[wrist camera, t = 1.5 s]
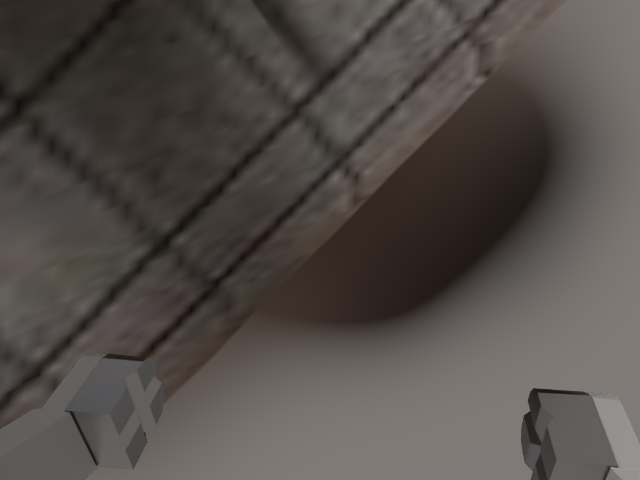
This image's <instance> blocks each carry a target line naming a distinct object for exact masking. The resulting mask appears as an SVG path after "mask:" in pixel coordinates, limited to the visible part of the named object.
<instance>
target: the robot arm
mask: <svg viewBox="0 0 640 480" xmlns="http://www.w3.org/2000/svg"><path fill="white" fill-rule="evenodd" d="M156 371H157V367H156V365H155V362H154V360H153V359H151V358H145V357H135V356H126V355H117V354H105V353H95V352H88V353H86V354H84V355H83V356H82V357H81V358H80V359H79V360H78V362H77V363H76V364H75V365H74V367H73V368H72V369H71V371H70V372H69V373H68V375H67V376H66V377H65V378H64V380H63V381H62V382H61V384H60V385H59V386H58V388H57V389H56V390H55V392H54V393H53V394H52V395H51V397H50V398H49V399H48V401H47V402H46V403H45V405H44V406H43V407H42V408H41V409H33V410H32V411H30V412H28V413H27V414H25V415H23V416H22V417H20V418H18V419H17V420H15V421H13V422H12V423H10V424H8V425H7V426H5V427H3V428H2V429H0V480H85V479H86V478H87V477H88V476H89V475H90V474H92V473H93V472H94V471H95V470H96V469H97V466H100V467H112V468H123V469H134V467H135V465H136V463H137V461H138V459H139V457H140V456H141V453H142V452H143V450H144V448H145V446H146V444H147V439H146V434H145V433H146V432H147V431H148V430H150V429H151V428H152V427H154V426H155V425H156V424H157V422H158V420H159V418H160V416H161V414H162V409H163V405H164V401H165V400H164V389H163V386H162V383H161V382H160V381H159V380H158V379H156V378H155V377H154V374H155V373H156ZM528 403H529V407H530V412H528V413H527V414H525V415H524V418H523V422H522V429H521V443H522V451H523V456H524V461H525V464H527V466H528V467H529V468H530V469H531V470H532V471H533V474H532V477H531V480H640V442H639V440H638V438H637V436H636V434H635V431H634V429H633V427H632V425H631V423H630V420H629V418H628V416H627V414H626V412H625V410H624V407H623V405H622V403H621V401H620V399H619V398H618V397H617V396H616V395H615V394H602V393H589V392H587V393H585V392H581V391H566V390H552V389H537V388H533V389H532V391H531V392H530V395H529V398H528Z"/></svg>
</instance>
